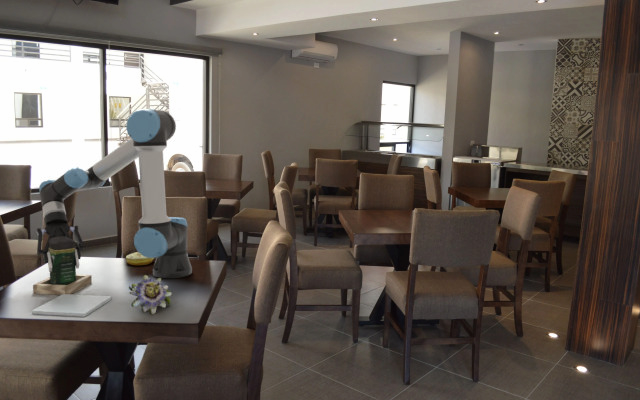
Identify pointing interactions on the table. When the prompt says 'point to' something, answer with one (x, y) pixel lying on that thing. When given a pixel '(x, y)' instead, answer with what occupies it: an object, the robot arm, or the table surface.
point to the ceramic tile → (72, 305)
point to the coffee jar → (62, 261)
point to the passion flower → (150, 294)
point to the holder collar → (62, 286)
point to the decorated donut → (138, 259)
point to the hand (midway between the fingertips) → (64, 268)
